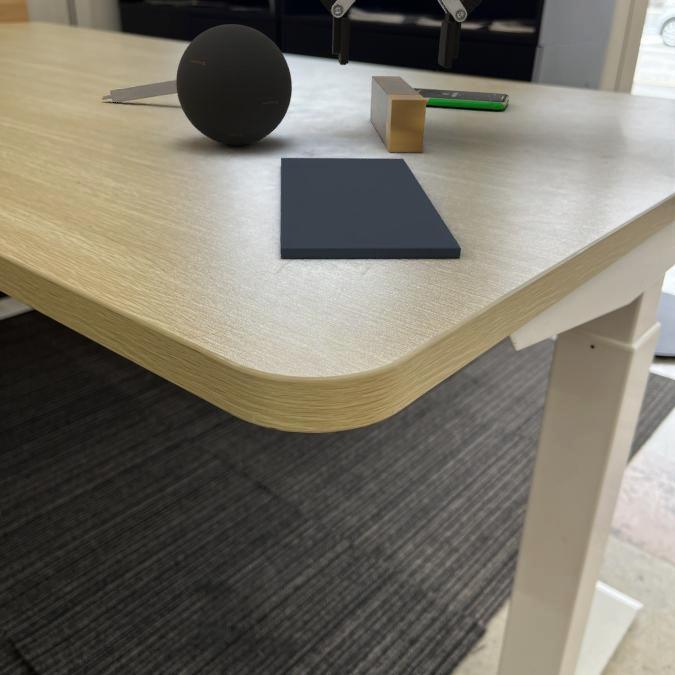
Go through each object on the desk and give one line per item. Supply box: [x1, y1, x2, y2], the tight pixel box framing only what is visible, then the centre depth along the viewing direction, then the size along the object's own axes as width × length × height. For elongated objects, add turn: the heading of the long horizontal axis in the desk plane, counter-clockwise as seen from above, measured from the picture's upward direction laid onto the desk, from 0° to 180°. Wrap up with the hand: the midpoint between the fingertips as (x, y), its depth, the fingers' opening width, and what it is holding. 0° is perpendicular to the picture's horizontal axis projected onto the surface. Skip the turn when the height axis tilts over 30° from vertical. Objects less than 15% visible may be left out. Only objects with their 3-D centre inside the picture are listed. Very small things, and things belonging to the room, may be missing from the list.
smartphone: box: [412, 87, 510, 111], centre depth 91 cm, size 8×1×15 cm
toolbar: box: [369, 75, 427, 153], centre depth 72 cm, size 3×16×4 cm, turn 4°
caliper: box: [101, 79, 177, 104], centre depth 84 cm, size 20×1×6 cm, turn 76°
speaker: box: [175, 23, 293, 146], centre depth 65 cm, size 10×10×10 cm
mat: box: [279, 157, 462, 259], centre depth 51 cm, size 10×22×1 cm, turn 4°
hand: (394, 64), depth 70 cm, fingers open, 9 cm apart
